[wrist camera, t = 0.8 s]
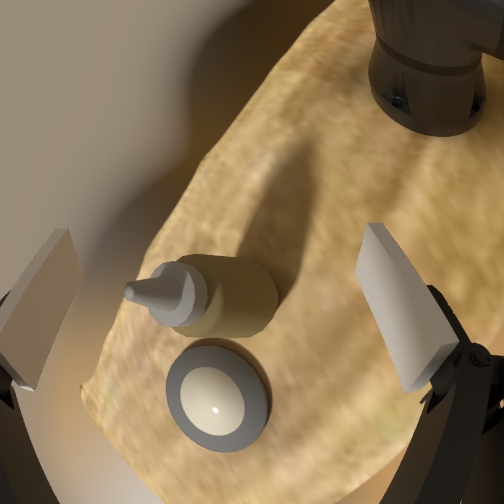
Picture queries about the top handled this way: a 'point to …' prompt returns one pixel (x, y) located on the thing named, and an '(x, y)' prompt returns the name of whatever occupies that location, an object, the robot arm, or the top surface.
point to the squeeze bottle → (208, 296)
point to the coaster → (217, 398)
